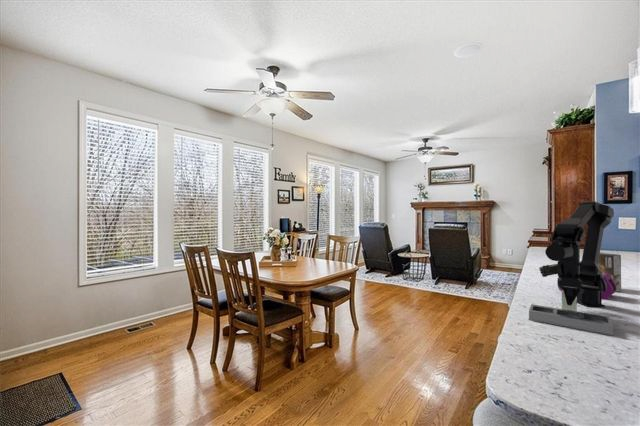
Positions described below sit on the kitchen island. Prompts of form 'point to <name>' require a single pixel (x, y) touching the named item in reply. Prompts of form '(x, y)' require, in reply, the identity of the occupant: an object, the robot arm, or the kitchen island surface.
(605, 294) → the mounting bracket
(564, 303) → the peg
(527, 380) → the kitchen island surface
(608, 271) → the coffee box
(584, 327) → the slotted holder
